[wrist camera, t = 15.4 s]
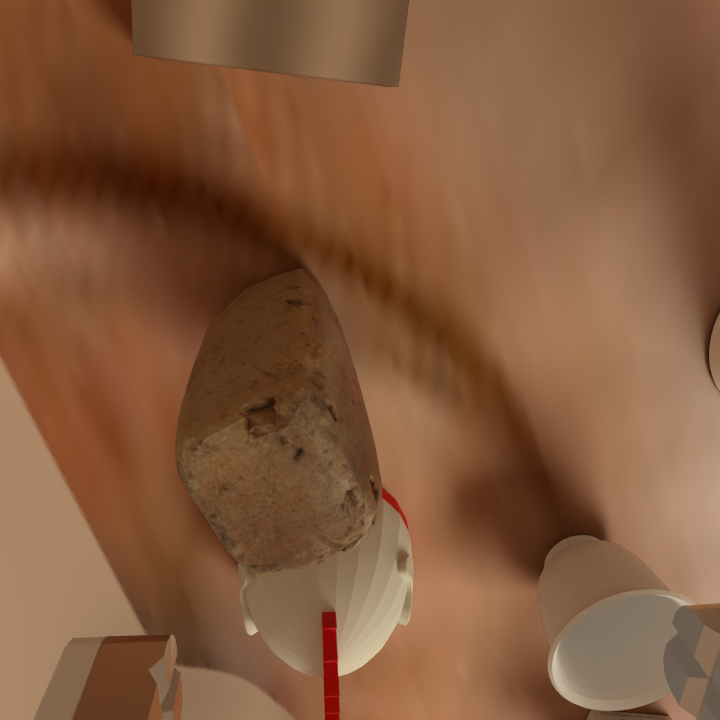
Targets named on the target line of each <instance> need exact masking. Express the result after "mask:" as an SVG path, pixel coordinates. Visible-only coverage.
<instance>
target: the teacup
mask: <svg viewBox="0 0 720 720" xmlns="http://www.w3.org/2000/svg"><path fill="white" fill-rule="evenodd" d="M537 597H538V605H539V609H540V614H541V618H542V621H543V625H544V628H545V632H546V635H547V638H548V642H549V646H550V652H549V657H548V673H549V677H550V680H551V682H552V684H553V686H554V687H555V689H556V690H557V691H558V692H559V693H560V695H562V696H563V697H564V698H565V699H567V700H568V701H570V702H572V703H574V704H576V705H579V706H581V707H584V708H588V709H592V710H600V711H620V710H627V709H633V708H637V707H641V706H644V705H647V704H650V703H652V702H654V701H657V700H659V699H661V698H663V697H664V696H666V695H668V694H669V693H671V691H670V688H669V685H668V683H667V680H666V677H665V671H664V664H663V657H664V652H665V648H666V644H667V643H668V642H669V641H670V640H671V639H672V638H673V637H674V636H675V635H676V634H678V632H677V630H676V629H675V627H674V626H673V624H672V622H673V619H674V615H675V612H676V611H677V610H678V609H679V608H680V607H681V606H686V605H696V604H695V603H694V602H693V601H691V600H690V599H689V598H687V597H685V596H683V595H680V594H678V593H674V592H672V591H671V590H670V589H669V588H668V587H667V586H666V585H665V584H664V583H663V582H662V581H661V580H660V579H659V578H658V577H657V576H656V575H655V574H654V572H653V571H652V570H651V569H650V568H649V567H648V566H647V565H646V564H645V563H644V562H643V561H642V560H641V559H640V558H639V557H637V556H636V555H635V554H634V553H632V552H631V551H630V550H628V549H627V548H625V547H623V546H621V545H619V544H616V543H613V542H609V541H603V540H599V539H598V538H596V537H593V536H589V535H576V536H571V537H568V538H566V539H563V540H562V541H560V542H559V543H557V544H556V545H555V546H554V547H553V548H552V549H551V550H550V551H549V553H548V554H547V556H546V558H545V561H544V569H543V571H542V573H541V575H540V578H539V581H538V587H537Z"/></svg>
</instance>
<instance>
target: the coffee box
mask: <svg viewBox="0 0 720 720" xmlns="http://www.w3.org/2000/svg"><path fill="white" fill-rule="evenodd" d="M586 720H672V719H671V717H670V716H663V715H650V714H638V713H626V712H614V711H600V710H591V711H590V713H589V715H588V717H587V719H586Z"/></svg>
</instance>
